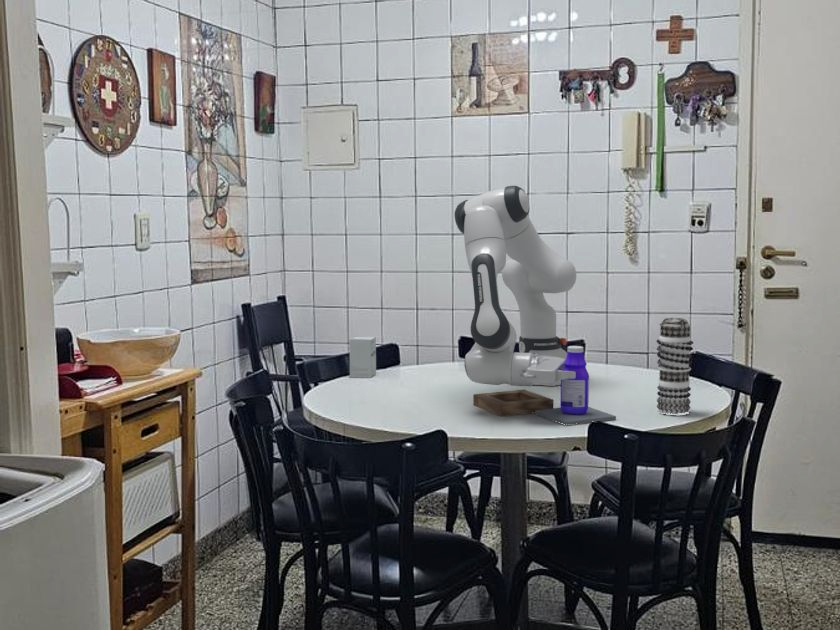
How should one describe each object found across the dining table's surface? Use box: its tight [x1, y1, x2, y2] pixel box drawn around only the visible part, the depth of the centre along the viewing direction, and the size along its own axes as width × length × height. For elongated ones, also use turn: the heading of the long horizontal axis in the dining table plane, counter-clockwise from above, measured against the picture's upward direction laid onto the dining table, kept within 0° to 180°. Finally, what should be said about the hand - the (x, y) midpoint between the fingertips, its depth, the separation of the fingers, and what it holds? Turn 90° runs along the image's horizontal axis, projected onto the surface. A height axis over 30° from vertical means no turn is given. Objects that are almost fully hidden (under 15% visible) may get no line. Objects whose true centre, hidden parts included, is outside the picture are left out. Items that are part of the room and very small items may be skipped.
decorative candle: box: [656, 317, 694, 414], centre depth 248 cm, size 9×9×25 cm
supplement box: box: [348, 336, 377, 379], centre depth 308 cm, size 7×7×13 cm
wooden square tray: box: [472, 389, 555, 417], centre depth 257 cm, size 16×16×3 cm
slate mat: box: [534, 406, 617, 426], centre depth 245 cm, size 15×15×1 cm
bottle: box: [559, 345, 590, 415], centre depth 244 cm, size 7×6×17 cm
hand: (578, 371), depth 244 cm, fingers open, 8 cm apart
